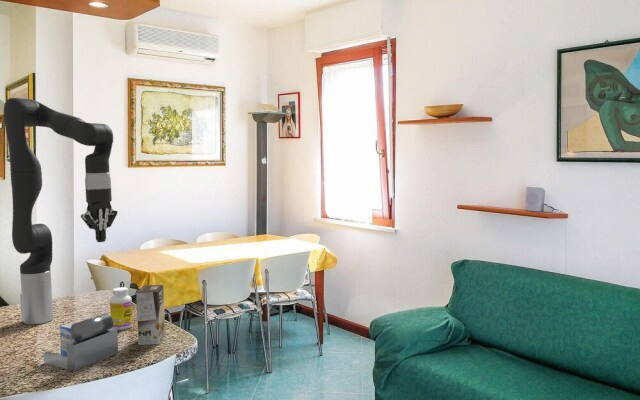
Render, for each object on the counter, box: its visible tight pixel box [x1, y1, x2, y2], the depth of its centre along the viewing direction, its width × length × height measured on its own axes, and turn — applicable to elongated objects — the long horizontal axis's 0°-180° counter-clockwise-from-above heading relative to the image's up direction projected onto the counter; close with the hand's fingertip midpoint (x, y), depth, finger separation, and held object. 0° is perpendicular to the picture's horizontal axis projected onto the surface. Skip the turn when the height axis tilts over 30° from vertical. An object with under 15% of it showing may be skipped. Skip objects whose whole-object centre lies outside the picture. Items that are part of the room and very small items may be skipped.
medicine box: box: [59, 322, 75, 356], centre depth 157 cm, size 8×4×9 cm, turn 58°
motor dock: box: [43, 312, 119, 372], centre depth 155 cm, size 14×14×12 cm
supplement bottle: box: [109, 286, 133, 331], centre depth 182 cm, size 7×7×13 cm
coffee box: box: [135, 284, 166, 346], centre depth 169 cm, size 9×6×16 cm
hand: (101, 241), depth 177 cm, fingers closed
